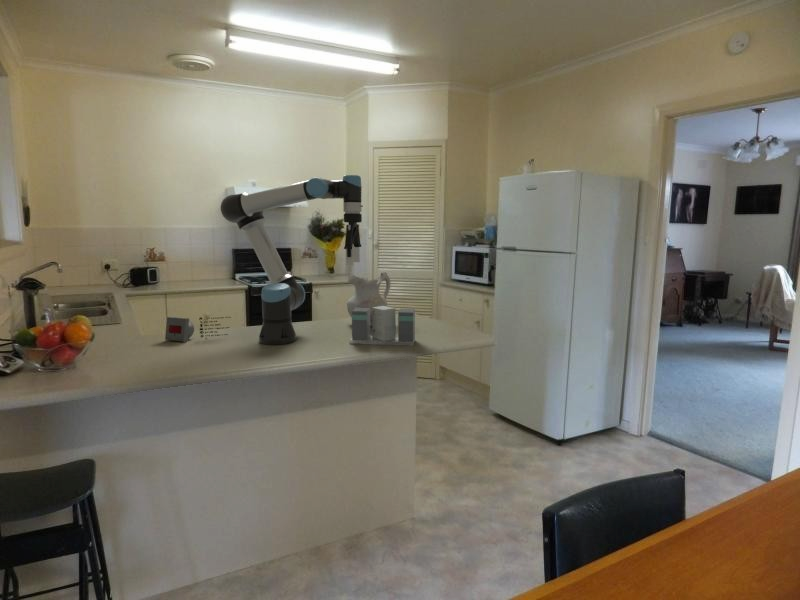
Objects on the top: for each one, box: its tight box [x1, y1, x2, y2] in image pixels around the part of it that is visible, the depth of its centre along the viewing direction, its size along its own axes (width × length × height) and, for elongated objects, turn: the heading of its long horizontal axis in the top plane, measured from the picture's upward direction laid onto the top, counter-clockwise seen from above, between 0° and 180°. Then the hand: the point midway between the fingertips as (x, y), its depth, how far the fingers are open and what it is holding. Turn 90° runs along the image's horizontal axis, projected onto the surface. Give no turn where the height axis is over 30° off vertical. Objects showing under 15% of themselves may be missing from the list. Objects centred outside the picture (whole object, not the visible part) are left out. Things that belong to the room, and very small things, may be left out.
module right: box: [397, 308, 416, 342], centre depth 210 cm, size 6×8×12 cm
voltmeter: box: [164, 316, 232, 343], centre depth 217 cm, size 27×11×10 cm, turn 107°
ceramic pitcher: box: [346, 272, 391, 327], centre depth 247 cm, size 22×20×25 cm
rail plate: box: [349, 335, 416, 347], centre depth 212 cm, size 26×9×2 cm, turn 83°
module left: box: [351, 308, 371, 340], centre depth 212 cm, size 6×8×12 cm
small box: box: [371, 306, 397, 341], centre depth 211 cm, size 8×6×13 cm
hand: (353, 263), depth 218 cm, fingers open, 13 cm apart
